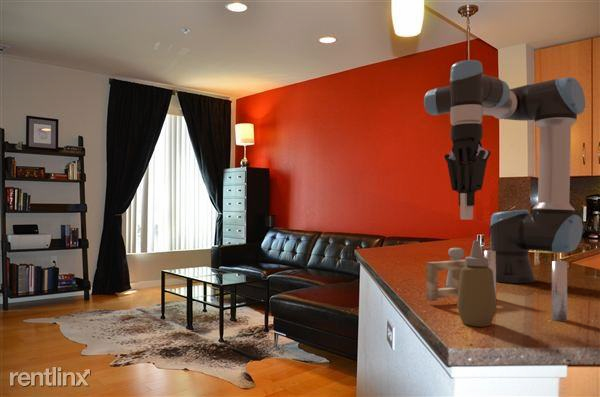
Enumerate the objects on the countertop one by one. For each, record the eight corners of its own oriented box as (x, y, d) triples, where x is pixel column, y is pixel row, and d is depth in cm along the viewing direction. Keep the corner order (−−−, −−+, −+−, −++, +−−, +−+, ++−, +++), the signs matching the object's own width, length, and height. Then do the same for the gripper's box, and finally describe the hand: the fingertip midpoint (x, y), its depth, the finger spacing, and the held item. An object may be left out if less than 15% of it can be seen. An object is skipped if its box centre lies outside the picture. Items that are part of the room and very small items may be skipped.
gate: (481, 294, 122) (481, 258, 122) (486, 295, 120) (486, 259, 120) (426, 299, 116) (426, 262, 116) (431, 301, 114) (431, 263, 114)
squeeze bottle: (450, 319, 101) (450, 239, 101) (485, 318, 102) (485, 239, 102) (467, 329, 93) (466, 242, 93) (504, 328, 94) (504, 242, 94)
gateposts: (481, 298, 123) (481, 250, 123) (490, 297, 124) (490, 250, 124) (560, 321, 99) (559, 262, 99) (570, 320, 100) (570, 262, 100)
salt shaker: (468, 295, 126) (468, 249, 126) (447, 294, 127) (447, 248, 127) (465, 291, 132) (465, 247, 132) (444, 290, 133) (444, 246, 133)
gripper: (498, 121, 108) (499, 220, 108) (457, 129, 120) (458, 217, 120) (476, 119, 105) (476, 220, 105) (436, 127, 117) (436, 218, 117)
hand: (466, 219), depth 112 cm, fingers closed
